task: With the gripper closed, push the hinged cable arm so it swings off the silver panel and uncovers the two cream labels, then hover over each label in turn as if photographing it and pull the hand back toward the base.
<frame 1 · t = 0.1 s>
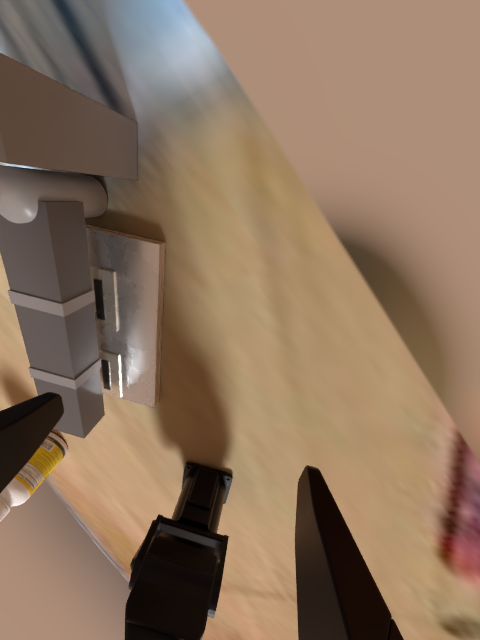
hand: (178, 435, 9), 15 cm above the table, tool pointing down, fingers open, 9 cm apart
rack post: (87, 142, 19), on the table
cable arm: (74, 318, 22), point 4 cm above the table, hinge at 0.0°
supplement bottle: (53, 441, 37), on the table
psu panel: (102, 319, 26), on the table
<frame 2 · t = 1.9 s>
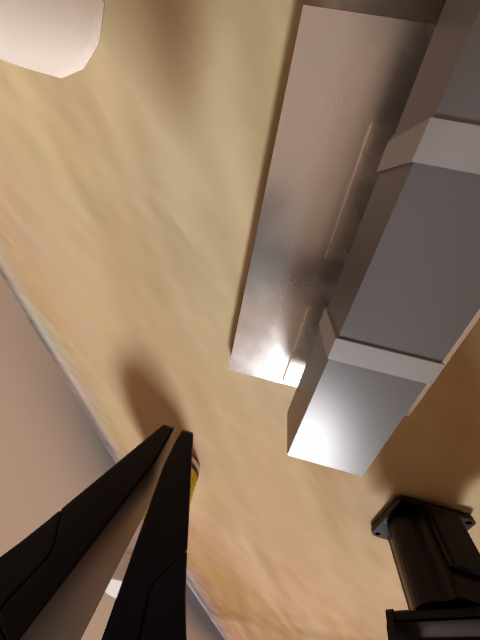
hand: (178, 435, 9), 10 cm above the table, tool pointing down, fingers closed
cable arm: (403, 241, 11), point 4 cm above the table, hinge at 0.0°
supplement bottle: (177, 460, 26), on the table
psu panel: (364, 262, 15), on the table
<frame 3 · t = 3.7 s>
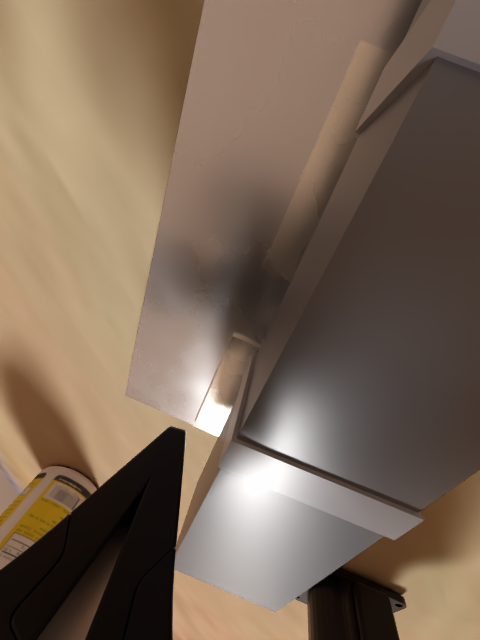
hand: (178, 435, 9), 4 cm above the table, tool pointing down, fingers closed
cable arm: (386, 271, 6), point 4 cm above the table, hinge at 1.9°, touching gripper
supplement bottle: (74, 481, 21), on the table
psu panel: (322, 285, 10), on the table
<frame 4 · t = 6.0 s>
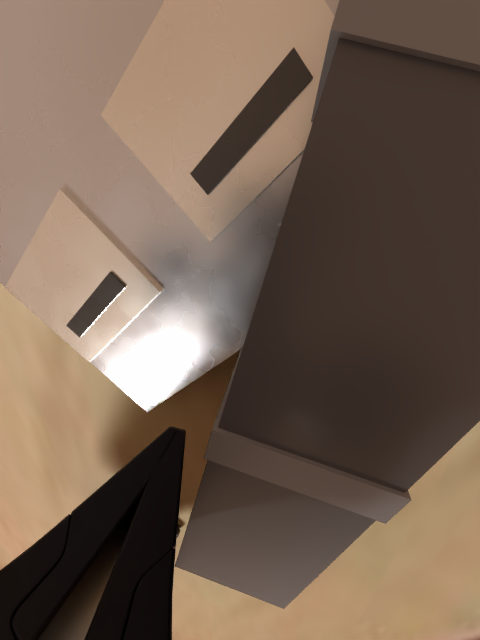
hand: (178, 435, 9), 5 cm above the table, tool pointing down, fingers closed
cable arm: (359, 255, 6), point 3 cm above the table, hinge at 33.6°, touching gripper
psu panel: (176, 184, 9), on the table
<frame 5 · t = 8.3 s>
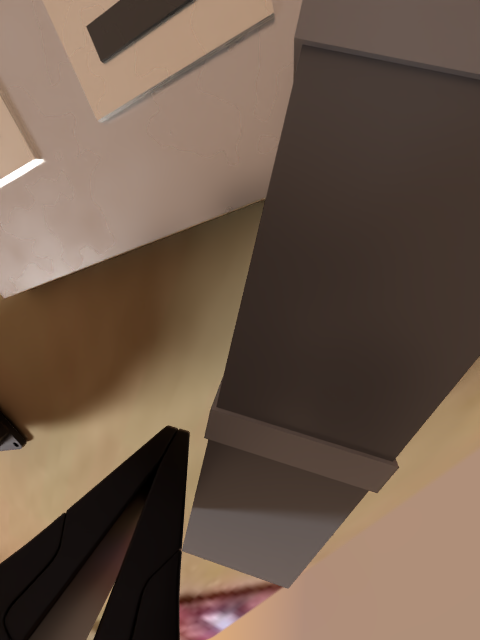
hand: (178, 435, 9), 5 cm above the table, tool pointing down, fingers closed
cable arm: (344, 243, 6), point 3 cm above the table, hinge at 58.3°
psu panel: (87, 47, 9), on the table
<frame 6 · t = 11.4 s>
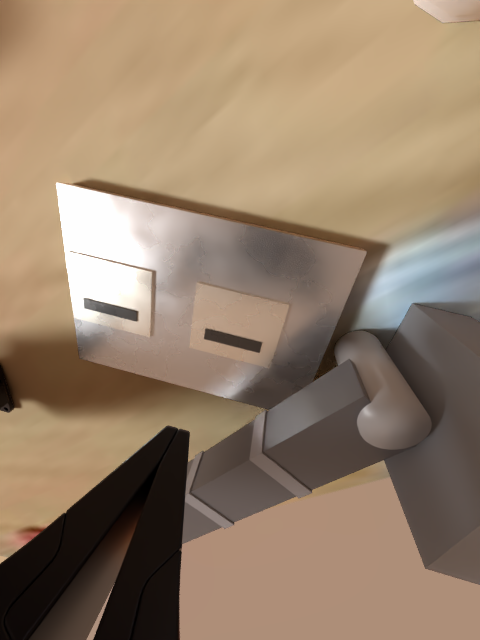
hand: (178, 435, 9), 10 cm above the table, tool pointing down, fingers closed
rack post: (409, 361, 17), on the table
cable arm: (254, 448, 18), point 4 cm above the table, hinge at 58.3°
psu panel: (199, 309, 18), on the table
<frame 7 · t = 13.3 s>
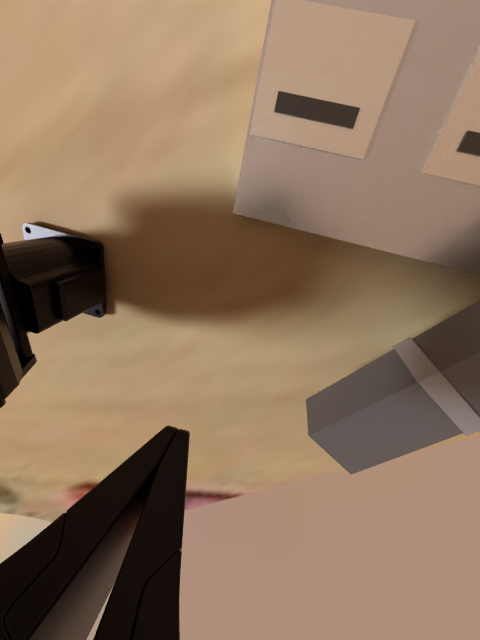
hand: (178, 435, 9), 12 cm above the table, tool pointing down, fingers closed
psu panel: (437, 119, 13), on the table
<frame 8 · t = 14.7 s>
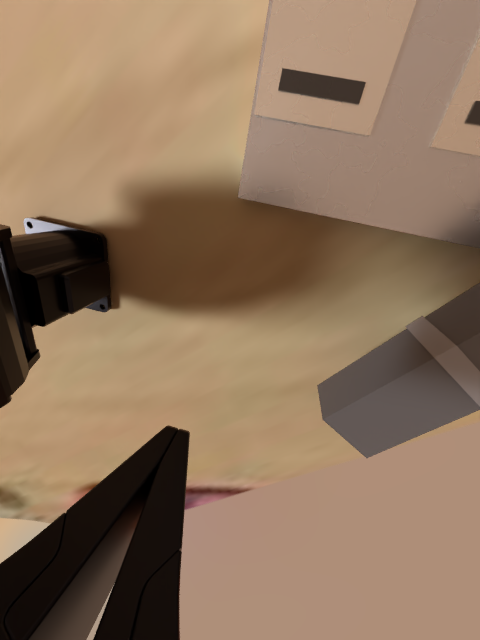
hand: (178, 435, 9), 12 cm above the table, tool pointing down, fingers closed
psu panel: (443, 92, 12), on the table
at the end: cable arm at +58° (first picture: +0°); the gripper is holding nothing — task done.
